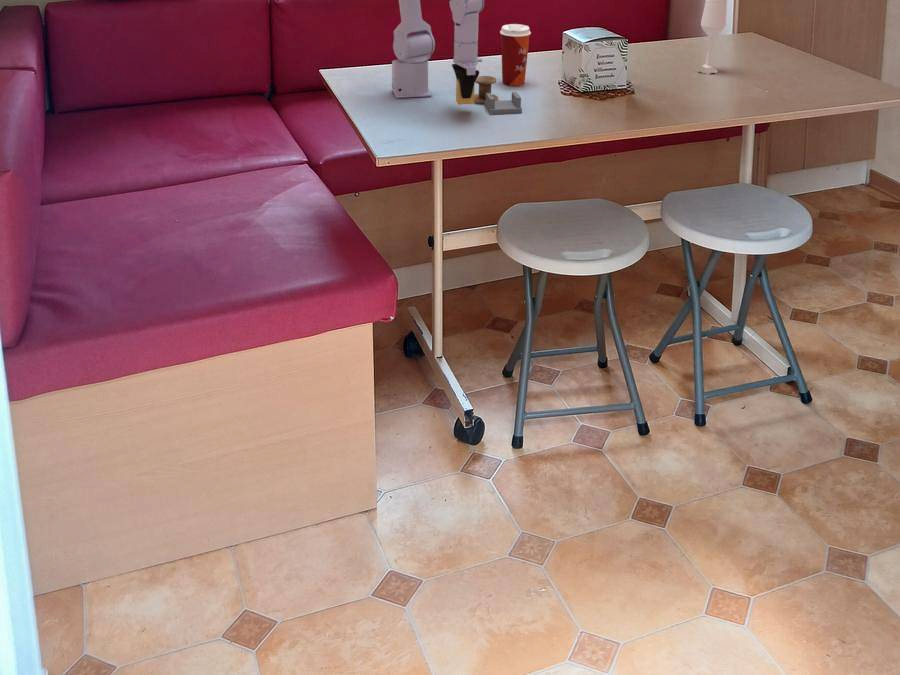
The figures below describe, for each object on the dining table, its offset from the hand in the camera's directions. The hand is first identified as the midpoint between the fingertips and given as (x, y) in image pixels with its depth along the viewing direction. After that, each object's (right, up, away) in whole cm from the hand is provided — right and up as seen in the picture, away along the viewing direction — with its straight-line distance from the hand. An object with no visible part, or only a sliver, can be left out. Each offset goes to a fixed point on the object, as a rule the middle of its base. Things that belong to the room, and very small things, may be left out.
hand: (464, 95), depth 258 cm
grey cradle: (+10, -2, +4) cm, 11 cm away
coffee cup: (+14, +9, +25) cm, 29 cm away
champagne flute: (+69, +15, +36) cm, 80 cm away
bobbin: (+5, +1, +11) cm, 12 cm away
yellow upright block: (0, -1, +1) cm, 2 cm away
